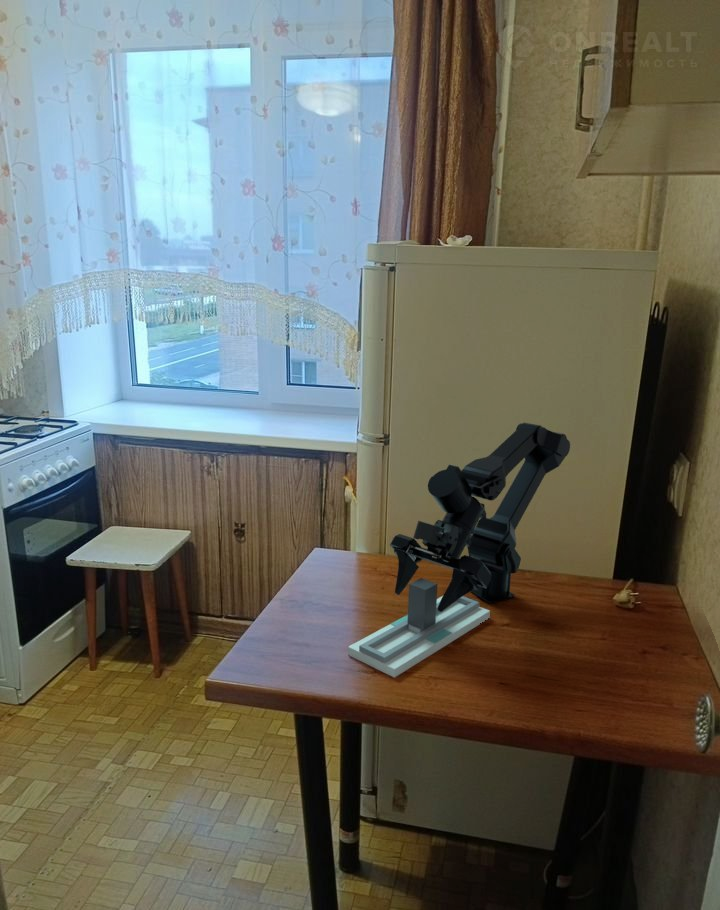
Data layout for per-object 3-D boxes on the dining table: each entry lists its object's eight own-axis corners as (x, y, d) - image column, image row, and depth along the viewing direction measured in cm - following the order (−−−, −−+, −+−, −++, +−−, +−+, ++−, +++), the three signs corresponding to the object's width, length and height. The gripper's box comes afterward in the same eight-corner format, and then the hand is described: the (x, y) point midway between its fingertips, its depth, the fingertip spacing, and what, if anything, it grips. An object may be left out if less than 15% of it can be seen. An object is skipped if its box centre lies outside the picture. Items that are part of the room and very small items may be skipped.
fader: (420, 620, 130) (422, 577, 128) (436, 627, 128) (438, 583, 126) (406, 628, 127) (408, 584, 125) (422, 635, 125) (424, 590, 123)
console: (445, 601, 142) (446, 589, 141) (489, 618, 135) (490, 605, 135) (347, 654, 121) (348, 641, 121) (394, 677, 115) (394, 663, 114)
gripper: (397, 491, 131) (355, 565, 126) (486, 515, 119) (444, 599, 114) (422, 522, 139) (383, 593, 133) (508, 548, 127) (469, 627, 121)
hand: (417, 602), depth 125 cm, fingers open, 9 cm apart
